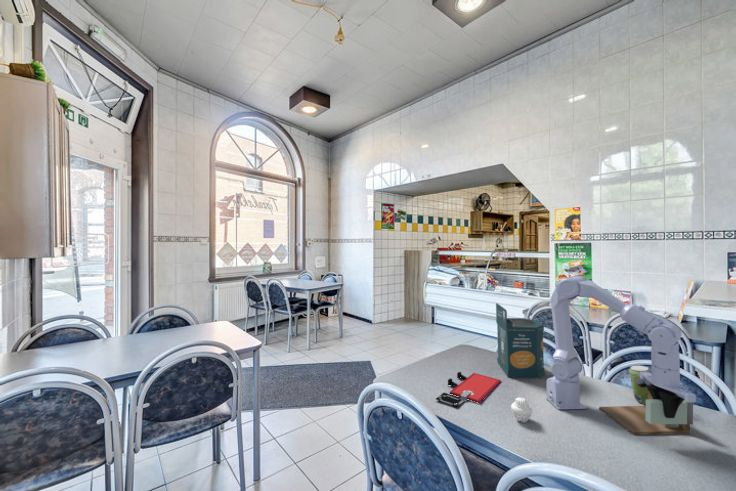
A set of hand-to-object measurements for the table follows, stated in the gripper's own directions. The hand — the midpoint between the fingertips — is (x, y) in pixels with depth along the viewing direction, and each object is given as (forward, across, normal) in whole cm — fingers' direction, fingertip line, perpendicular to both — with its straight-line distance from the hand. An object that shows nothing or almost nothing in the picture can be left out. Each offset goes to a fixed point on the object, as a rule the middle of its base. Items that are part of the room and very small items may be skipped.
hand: (666, 415), depth 88 cm
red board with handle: (+8, +33, +45) cm, 56 cm away
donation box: (+8, +50, +16) cm, 53 cm away
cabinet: (+7, +10, -2) cm, 12 cm away
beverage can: (+7, +21, -12) cm, 25 cm away
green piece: (+2, 0, 0) cm, 2 cm away
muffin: (+8, +12, +34) cm, 37 cm away
